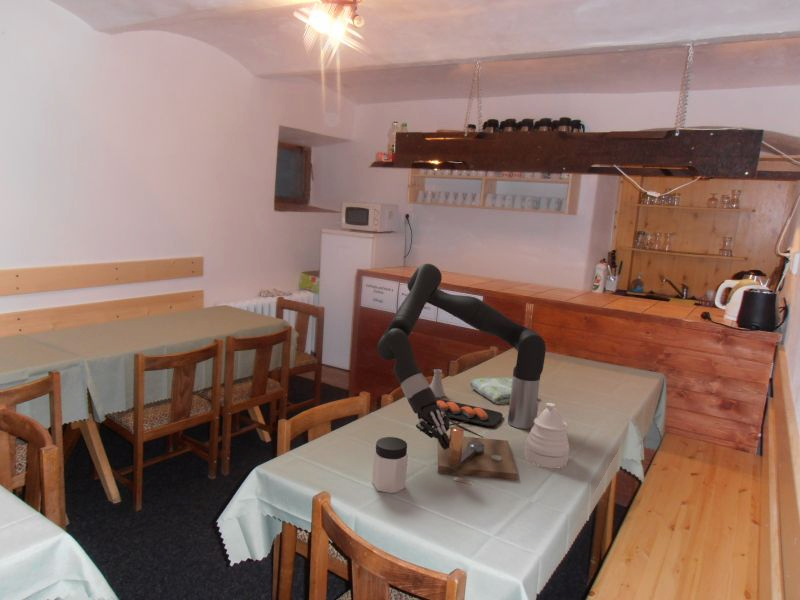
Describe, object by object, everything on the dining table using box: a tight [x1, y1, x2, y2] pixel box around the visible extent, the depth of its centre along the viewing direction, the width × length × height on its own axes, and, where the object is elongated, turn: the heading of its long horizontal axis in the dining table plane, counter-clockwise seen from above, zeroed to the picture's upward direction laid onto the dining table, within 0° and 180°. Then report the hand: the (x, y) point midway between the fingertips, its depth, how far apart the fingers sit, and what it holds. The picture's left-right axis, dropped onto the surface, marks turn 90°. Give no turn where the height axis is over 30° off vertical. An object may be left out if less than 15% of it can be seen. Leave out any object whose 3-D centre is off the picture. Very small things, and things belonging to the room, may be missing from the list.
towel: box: [470, 376, 513, 405], centre depth 231 cm, size 18×21×5 cm
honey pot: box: [524, 402, 570, 469], centre depth 174 cm, size 13×13×18 cm
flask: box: [429, 368, 446, 399], centre depth 224 cm, size 7×7×10 cm
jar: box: [371, 436, 409, 494], centre depth 152 cm, size 9×8×12 cm
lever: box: [448, 426, 484, 470], centre depth 165 cm, size 19×5×12 cm, turn 149°
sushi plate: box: [419, 398, 504, 438], centre depth 200 cm, size 29×30×4 cm
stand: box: [437, 434, 518, 486], centre depth 170 cm, size 22×27×2 cm
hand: (448, 448), depth 160 cm, fingers closed
